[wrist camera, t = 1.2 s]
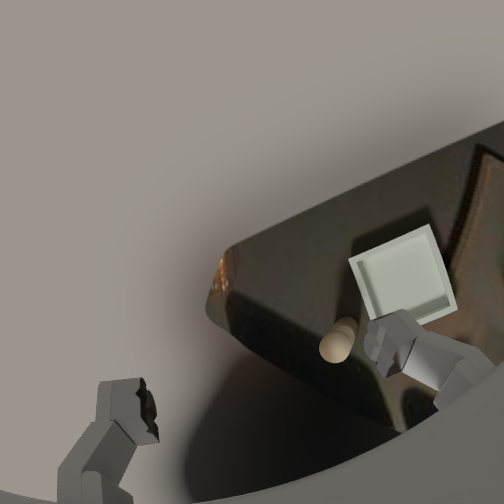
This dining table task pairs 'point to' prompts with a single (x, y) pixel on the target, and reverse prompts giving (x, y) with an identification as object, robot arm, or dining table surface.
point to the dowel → (339, 340)
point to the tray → (405, 277)
